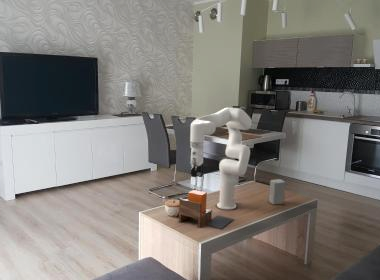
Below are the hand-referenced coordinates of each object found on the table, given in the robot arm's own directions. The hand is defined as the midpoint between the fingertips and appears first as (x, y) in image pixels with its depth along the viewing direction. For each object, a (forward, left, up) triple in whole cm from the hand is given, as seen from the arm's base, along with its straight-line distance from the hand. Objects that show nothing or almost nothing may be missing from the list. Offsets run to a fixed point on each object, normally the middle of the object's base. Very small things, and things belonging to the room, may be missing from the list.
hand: (196, 174), depth 203 cm
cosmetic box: (-62, +28, -30) cm, 74 cm away
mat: (-10, +11, -29) cm, 33 cm away
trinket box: (-5, -18, -30) cm, 35 cm away
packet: (-5, -2, -23) cm, 24 cm away
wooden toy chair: (-4, -2, -29) cm, 30 cm away
